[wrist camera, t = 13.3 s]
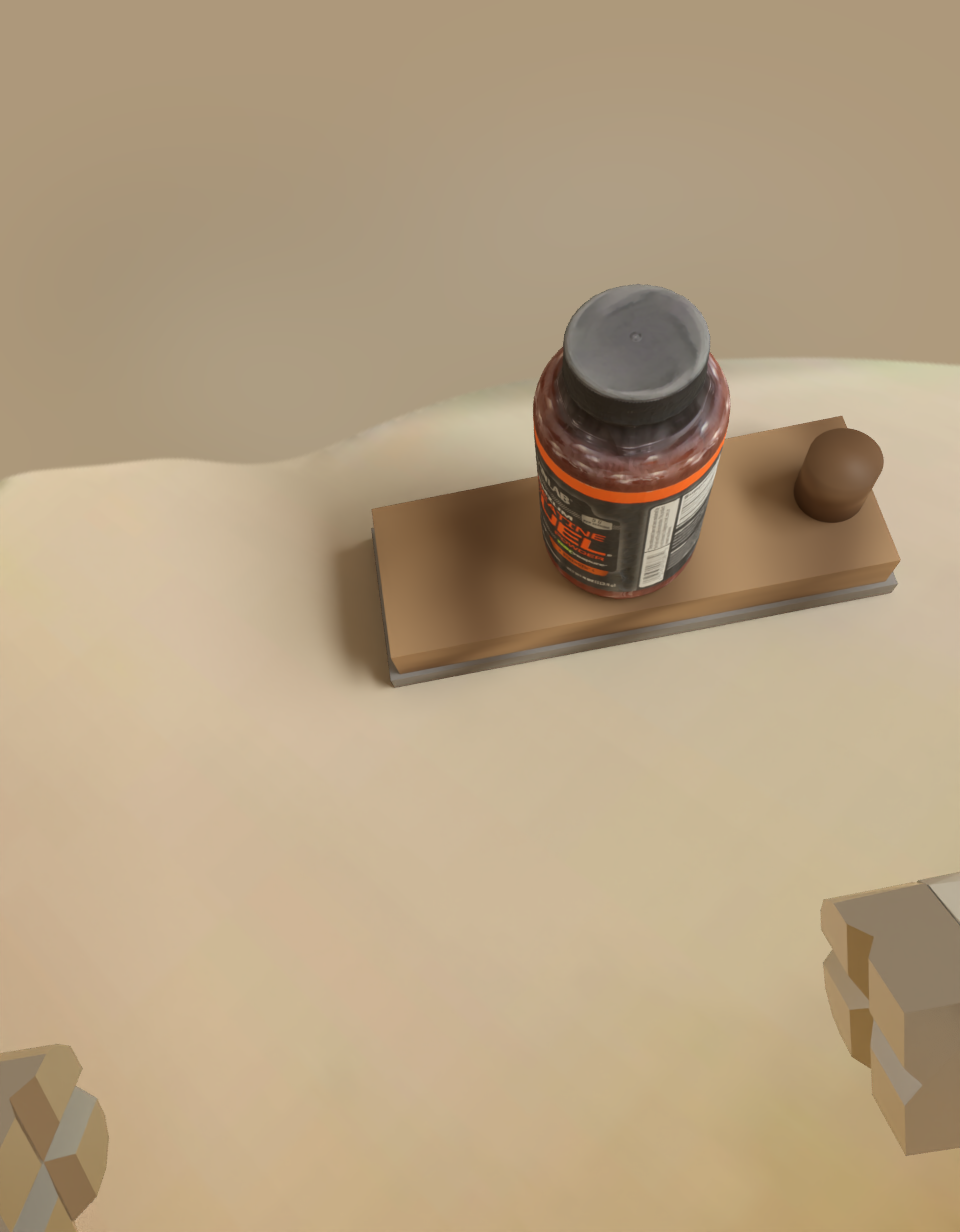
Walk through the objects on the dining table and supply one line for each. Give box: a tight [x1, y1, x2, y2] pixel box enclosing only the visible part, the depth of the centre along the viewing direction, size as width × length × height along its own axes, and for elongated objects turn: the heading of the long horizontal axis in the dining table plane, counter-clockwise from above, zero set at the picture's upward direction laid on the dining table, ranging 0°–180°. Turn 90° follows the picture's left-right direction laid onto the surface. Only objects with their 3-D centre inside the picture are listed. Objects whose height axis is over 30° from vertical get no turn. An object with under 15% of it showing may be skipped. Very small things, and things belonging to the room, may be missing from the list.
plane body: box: [371, 416, 900, 687], centre depth 34 cm, size 20×7×5 cm, turn 100°
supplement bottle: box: [533, 284, 730, 599], centre depth 29 cm, size 6×6×11 cm
